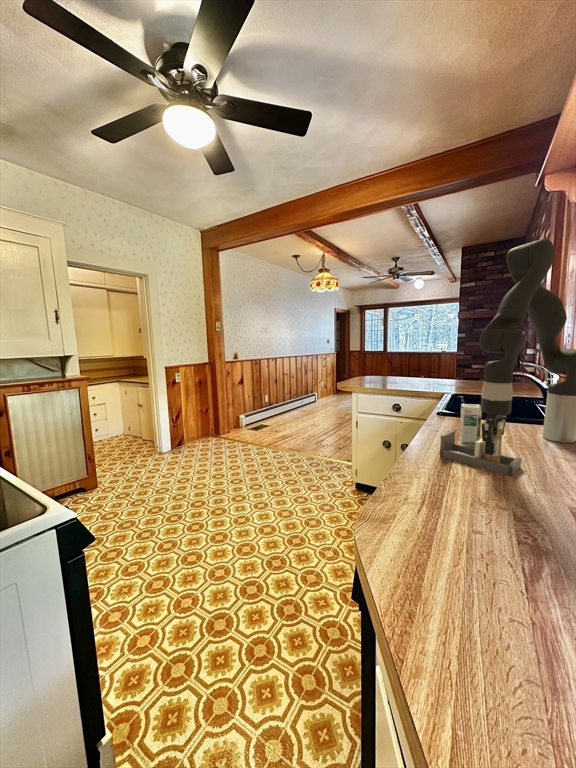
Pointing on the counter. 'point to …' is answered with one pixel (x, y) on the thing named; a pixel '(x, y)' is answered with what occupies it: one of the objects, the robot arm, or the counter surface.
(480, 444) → the pusher plate
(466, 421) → the syrup box
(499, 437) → the sprinkles bottle
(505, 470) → the grey slide rail frame
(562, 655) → the counter surface
